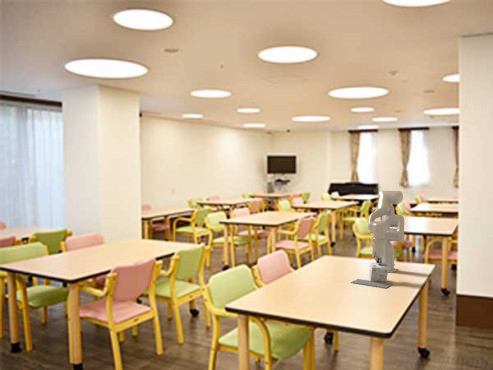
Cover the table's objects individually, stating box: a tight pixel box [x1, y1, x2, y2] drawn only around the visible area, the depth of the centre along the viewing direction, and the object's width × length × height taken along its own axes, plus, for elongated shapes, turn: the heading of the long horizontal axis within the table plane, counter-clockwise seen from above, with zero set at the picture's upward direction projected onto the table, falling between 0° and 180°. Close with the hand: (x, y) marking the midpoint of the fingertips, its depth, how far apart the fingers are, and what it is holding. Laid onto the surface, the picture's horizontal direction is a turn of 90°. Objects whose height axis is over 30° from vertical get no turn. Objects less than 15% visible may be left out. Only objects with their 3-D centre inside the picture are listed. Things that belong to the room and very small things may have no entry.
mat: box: [350, 278, 393, 290], centre depth 275 cm, size 10×24×1 cm, turn 49°
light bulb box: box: [368, 262, 389, 283], centre depth 280 cm, size 11×7×11 cm, turn 84°
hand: (379, 267), depth 284 cm, fingers closed
